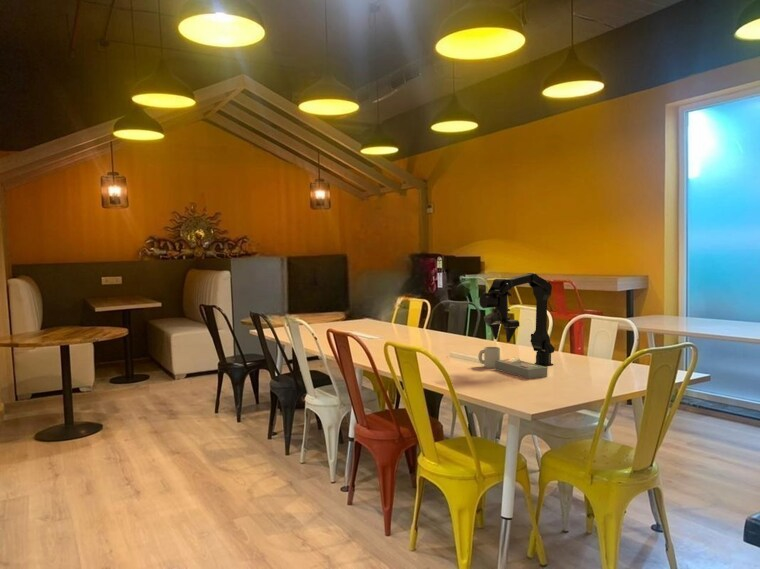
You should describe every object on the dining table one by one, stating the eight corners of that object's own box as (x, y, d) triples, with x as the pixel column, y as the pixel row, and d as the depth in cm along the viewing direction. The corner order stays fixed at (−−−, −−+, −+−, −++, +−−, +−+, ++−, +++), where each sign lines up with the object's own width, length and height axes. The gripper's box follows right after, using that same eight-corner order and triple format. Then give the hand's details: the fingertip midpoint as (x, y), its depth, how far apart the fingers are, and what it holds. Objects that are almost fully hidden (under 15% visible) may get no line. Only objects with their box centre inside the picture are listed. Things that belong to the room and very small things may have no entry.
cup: (499, 368, 261) (499, 349, 261) (478, 367, 264) (477, 348, 263) (500, 365, 268) (500, 346, 268) (478, 364, 271) (478, 346, 270)
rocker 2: (531, 367, 249) (532, 364, 249) (537, 369, 245) (538, 366, 245) (521, 365, 246) (521, 362, 246) (527, 367, 242) (527, 364, 243)
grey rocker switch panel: (513, 367, 264) (513, 358, 264) (547, 376, 243) (547, 367, 243) (495, 369, 260) (495, 360, 259) (528, 379, 239) (528, 369, 239)
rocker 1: (514, 359, 260) (514, 357, 259) (520, 361, 256) (519, 358, 256) (504, 364, 257) (503, 361, 257) (510, 365, 254) (509, 363, 253)
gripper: (474, 306, 259) (475, 339, 260) (499, 309, 242) (499, 345, 243) (494, 304, 264) (495, 337, 265) (520, 307, 247) (520, 343, 248)
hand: (501, 340), depth 255 cm, fingers open, 9 cm apart
